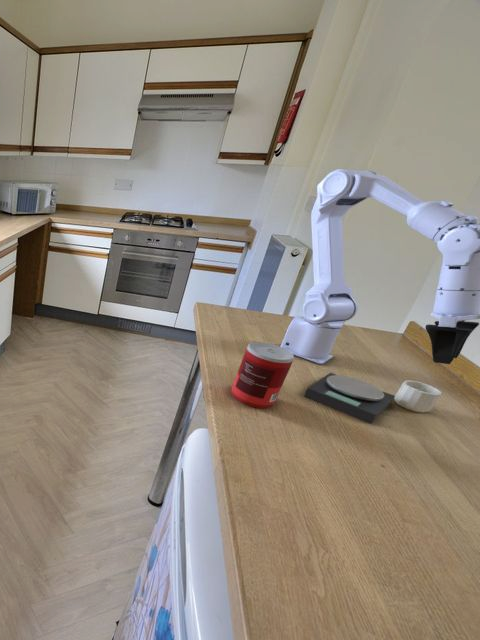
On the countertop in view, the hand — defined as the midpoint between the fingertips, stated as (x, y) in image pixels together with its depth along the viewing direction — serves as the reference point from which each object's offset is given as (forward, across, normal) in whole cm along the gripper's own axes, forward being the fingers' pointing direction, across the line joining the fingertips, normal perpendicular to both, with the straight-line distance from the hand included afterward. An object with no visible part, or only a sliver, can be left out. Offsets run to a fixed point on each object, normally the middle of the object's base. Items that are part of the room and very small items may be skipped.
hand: (445, 360), depth 80 cm
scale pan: (+7, -9, +11) cm, 16 cm away
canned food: (+8, -27, +22) cm, 36 cm away
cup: (+10, 0, +3) cm, 11 cm away
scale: (+9, -10, +11) cm, 18 cm away
